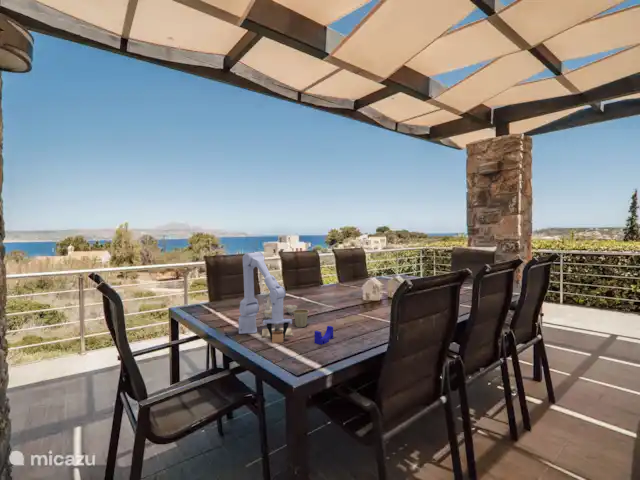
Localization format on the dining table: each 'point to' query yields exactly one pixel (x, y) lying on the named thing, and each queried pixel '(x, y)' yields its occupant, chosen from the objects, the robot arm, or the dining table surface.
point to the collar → (277, 336)
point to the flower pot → (300, 317)
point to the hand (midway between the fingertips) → (277, 337)
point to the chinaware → (269, 309)
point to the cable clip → (326, 337)
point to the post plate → (267, 335)
